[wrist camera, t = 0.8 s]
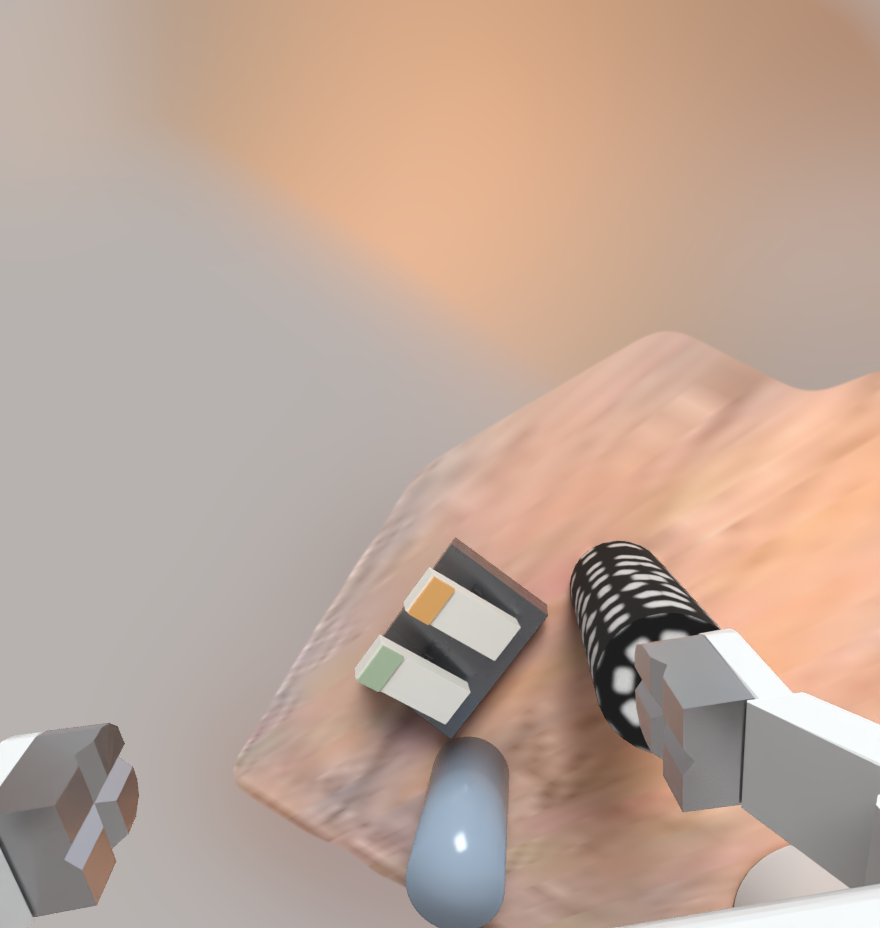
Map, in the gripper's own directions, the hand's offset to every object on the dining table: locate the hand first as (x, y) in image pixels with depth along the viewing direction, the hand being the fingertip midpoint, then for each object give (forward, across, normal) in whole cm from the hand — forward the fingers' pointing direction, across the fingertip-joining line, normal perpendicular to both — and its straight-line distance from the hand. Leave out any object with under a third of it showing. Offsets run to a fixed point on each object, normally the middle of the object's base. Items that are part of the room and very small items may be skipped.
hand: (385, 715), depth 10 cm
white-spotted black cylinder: (+40, +17, -24) cm, 49 cm away
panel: (+41, +2, -27) cm, 49 cm away
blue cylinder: (+38, +2, -40) cm, 55 cm away
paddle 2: (+36, -2, -27) cm, 45 cm away
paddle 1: (+36, +3, -22) cm, 43 cm away
